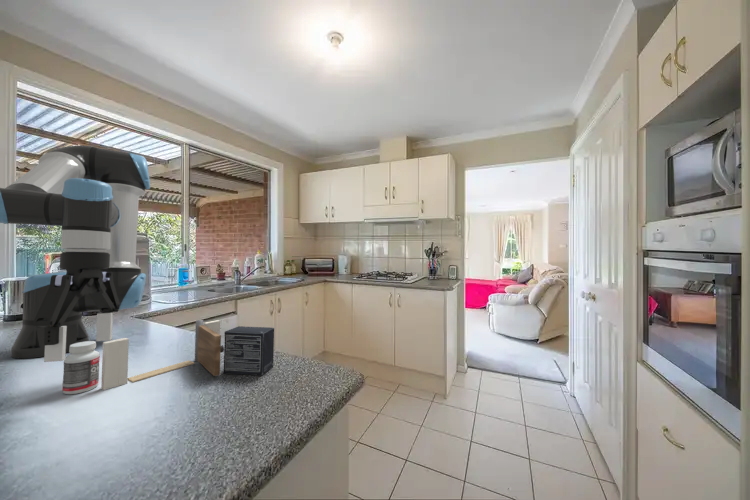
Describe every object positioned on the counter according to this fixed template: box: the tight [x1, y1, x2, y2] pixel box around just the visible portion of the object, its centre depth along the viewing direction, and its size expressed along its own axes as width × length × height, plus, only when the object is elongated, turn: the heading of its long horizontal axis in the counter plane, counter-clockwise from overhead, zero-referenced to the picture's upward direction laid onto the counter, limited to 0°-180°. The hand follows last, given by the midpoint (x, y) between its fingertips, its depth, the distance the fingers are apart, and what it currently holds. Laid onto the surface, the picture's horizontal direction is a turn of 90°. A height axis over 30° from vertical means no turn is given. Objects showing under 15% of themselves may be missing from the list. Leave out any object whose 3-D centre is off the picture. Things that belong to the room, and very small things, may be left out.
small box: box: [223, 325, 275, 376], centre depth 72 cm, size 11×6×10 cm, turn 84°
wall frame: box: [100, 319, 221, 391], centre depth 71 cm, size 3×25×11 cm, turn 149°
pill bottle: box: [62, 340, 101, 395], centre depth 60 cm, size 5×5×10 cm
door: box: [198, 325, 224, 377], centre depth 72 cm, size 2×14×10 cm, turn 47°
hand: (82, 349), depth 60 cm, fingers open, 13 cm apart
